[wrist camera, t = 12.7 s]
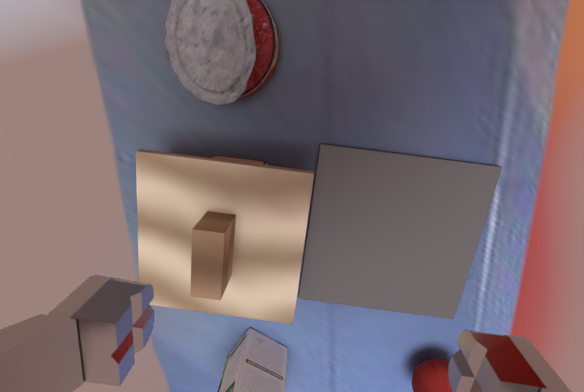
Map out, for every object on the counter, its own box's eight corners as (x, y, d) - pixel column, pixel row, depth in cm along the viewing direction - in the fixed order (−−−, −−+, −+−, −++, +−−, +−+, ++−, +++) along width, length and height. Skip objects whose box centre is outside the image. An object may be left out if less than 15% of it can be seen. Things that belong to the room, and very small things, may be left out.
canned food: (257, 97, 38) (224, 149, 31) (177, 40, 35) (120, 82, 28) (316, 6, 30) (288, 48, 23) (217, -75, 28) (154, -55, 21)
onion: (450, 381, 42) (480, 445, 35) (403, 380, 43) (423, 443, 35) (455, 343, 40) (488, 402, 33) (406, 342, 41) (428, 400, 33)
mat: (320, 143, 34) (320, 144, 34) (498, 165, 34) (501, 167, 33) (298, 295, 40) (298, 298, 39) (451, 315, 39) (453, 319, 39)
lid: (141, 149, 29) (108, 160, 24) (314, 171, 29) (314, 187, 24) (144, 297, 34) (117, 331, 29) (293, 317, 33) (290, 355, 29)
